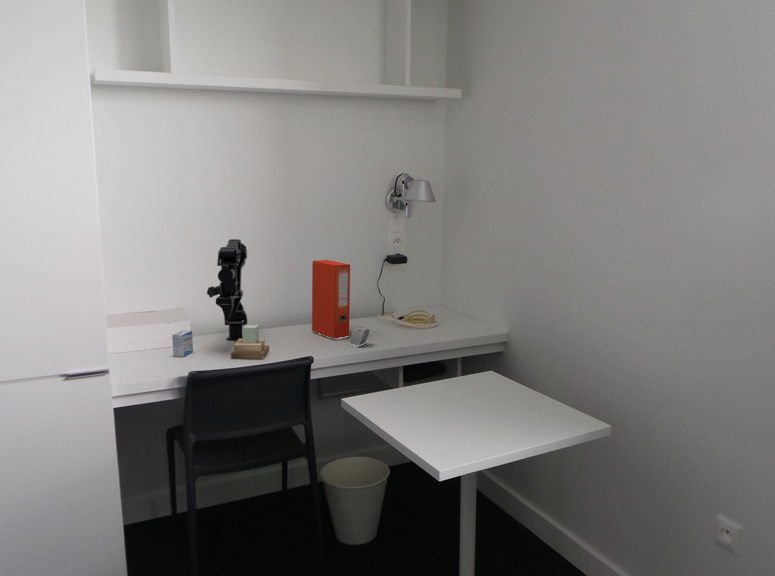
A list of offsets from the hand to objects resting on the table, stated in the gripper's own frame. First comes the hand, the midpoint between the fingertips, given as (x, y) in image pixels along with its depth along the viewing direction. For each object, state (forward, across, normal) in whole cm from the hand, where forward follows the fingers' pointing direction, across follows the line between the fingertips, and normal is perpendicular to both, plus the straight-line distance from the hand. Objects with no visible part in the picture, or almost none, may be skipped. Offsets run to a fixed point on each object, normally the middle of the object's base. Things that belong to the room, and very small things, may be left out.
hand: (230, 317), depth 273 cm
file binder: (+13, -26, +37) cm, 47 cm away
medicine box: (+13, +10, -16) cm, 23 cm away
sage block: (+7, +9, +10) cm, 15 cm away
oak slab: (+10, +9, +10) cm, 17 cm away
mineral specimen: (+13, -10, +51) cm, 54 cm away
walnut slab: (+13, +9, +10) cm, 19 cm away
